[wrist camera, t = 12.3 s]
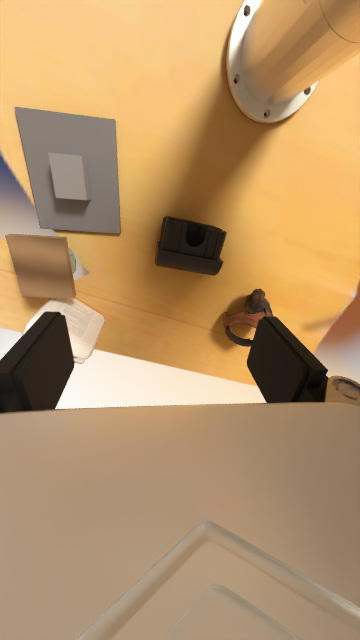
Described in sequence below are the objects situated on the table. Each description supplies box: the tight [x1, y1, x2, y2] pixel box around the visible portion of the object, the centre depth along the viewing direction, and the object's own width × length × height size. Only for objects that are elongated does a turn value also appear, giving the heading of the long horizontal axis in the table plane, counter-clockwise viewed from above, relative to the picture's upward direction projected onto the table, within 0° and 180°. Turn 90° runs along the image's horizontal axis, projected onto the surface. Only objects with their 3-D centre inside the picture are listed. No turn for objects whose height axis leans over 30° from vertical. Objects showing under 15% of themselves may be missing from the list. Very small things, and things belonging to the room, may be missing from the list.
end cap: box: [155, 216, 227, 275], centre depth 35 cm, size 10×7×7 cm
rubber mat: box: [15, 107, 121, 234], centre depth 31 cm, size 14×12×3 cm
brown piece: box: [223, 289, 273, 347], centre depth 44 cm, size 12×10×8 cm
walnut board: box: [5, 234, 76, 298], centre depth 33 cm, size 9×7×1 cm
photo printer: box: [22, 298, 105, 364], centre depth 37 cm, size 10×4×12 cm, turn 50°
